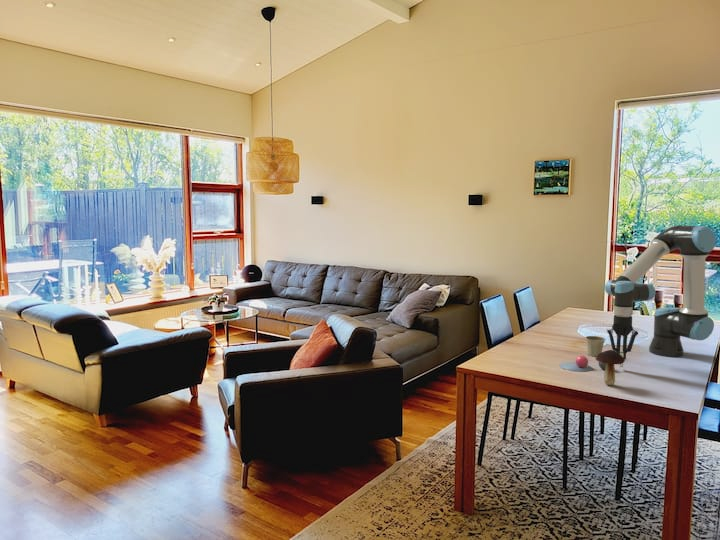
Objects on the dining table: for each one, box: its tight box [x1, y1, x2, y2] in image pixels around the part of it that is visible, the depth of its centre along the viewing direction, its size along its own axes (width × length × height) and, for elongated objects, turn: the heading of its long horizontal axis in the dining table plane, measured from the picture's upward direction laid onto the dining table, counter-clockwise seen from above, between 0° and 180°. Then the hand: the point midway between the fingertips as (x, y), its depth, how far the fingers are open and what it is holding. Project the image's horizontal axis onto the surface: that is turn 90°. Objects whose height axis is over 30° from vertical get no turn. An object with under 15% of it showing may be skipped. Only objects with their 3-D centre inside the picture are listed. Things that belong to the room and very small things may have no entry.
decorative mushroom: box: [595, 349, 626, 386], centre depth 220 cm, size 11×11×15 cm
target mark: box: [559, 361, 593, 373], centre depth 246 cm, size 14×14×1 cm
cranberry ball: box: [574, 355, 589, 368], centre depth 245 cm, size 6×6×6 cm
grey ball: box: [598, 361, 606, 371], centre depth 242 cm, size 6×6×6 cm
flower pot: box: [584, 335, 606, 357], centre depth 265 cm, size 9×9×9 cm
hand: (620, 366), depth 240 cm, fingers closed
